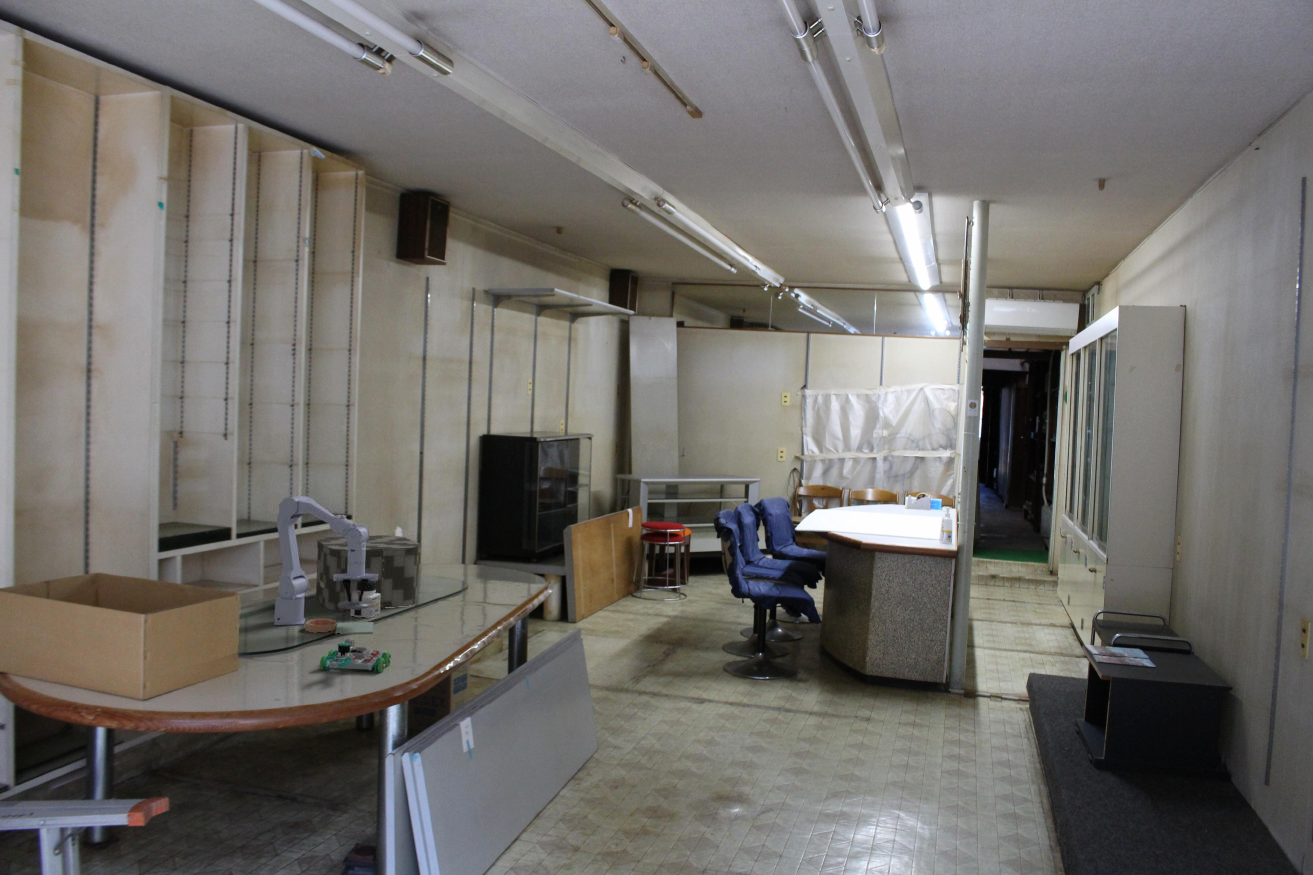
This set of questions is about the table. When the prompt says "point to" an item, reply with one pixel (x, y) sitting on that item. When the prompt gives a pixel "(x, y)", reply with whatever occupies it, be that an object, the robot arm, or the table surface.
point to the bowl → (320, 625)
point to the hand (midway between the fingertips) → (354, 601)
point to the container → (368, 596)
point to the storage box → (370, 570)
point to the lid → (354, 602)
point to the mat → (354, 628)
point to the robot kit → (355, 658)
